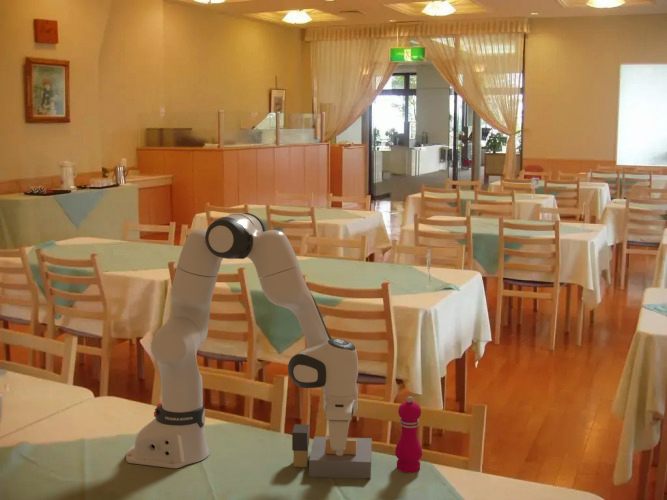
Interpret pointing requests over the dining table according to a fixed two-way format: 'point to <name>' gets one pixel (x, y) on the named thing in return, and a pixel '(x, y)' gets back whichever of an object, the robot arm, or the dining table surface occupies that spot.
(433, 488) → the dining table surface
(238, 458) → the dining table surface
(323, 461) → the socket block
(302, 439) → the plug
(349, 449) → the block
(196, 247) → the robot arm
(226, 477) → the dining table surface
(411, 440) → the pepper mill
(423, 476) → the dining table surface
